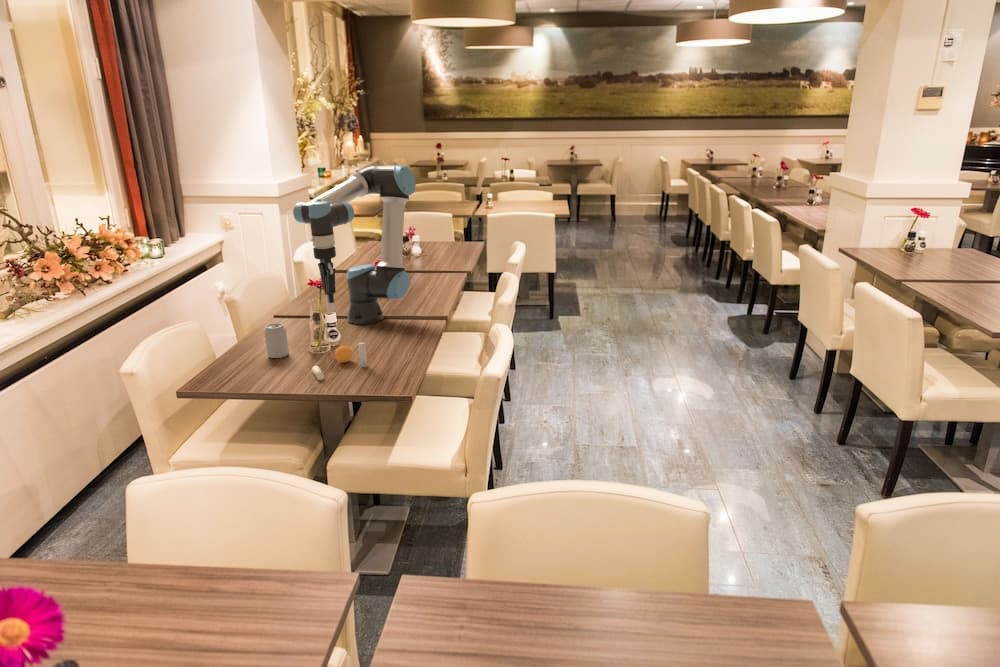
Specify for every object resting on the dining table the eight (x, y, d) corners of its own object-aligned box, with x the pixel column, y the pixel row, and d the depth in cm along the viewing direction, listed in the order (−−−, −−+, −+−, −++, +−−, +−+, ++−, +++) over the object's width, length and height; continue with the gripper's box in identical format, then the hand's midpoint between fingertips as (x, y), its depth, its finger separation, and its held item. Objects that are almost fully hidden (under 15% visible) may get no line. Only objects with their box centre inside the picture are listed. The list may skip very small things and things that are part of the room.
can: (292, 352, 251) (288, 322, 247) (284, 359, 244) (279, 328, 240) (273, 352, 251) (268, 322, 248) (264, 359, 244) (259, 328, 241)
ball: (339, 364, 235) (335, 364, 240) (356, 360, 238) (351, 360, 243) (335, 348, 235) (331, 348, 240) (352, 343, 237) (347, 344, 243)
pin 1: (320, 367, 232) (325, 376, 225) (316, 373, 232) (321, 381, 225) (314, 364, 231) (319, 372, 223) (310, 370, 231) (315, 378, 223)
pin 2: (359, 365, 236) (357, 343, 233) (366, 364, 237) (363, 341, 234) (361, 368, 234) (359, 345, 231) (368, 366, 235) (366, 343, 232)
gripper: (308, 244, 240) (316, 308, 247) (318, 251, 229) (326, 316, 237) (329, 242, 243) (336, 304, 251) (340, 248, 232) (347, 313, 240)
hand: (331, 310), depth 244 cm, fingers closed
